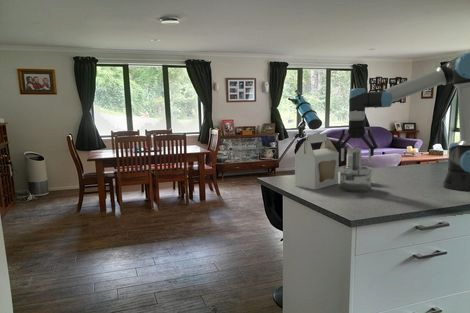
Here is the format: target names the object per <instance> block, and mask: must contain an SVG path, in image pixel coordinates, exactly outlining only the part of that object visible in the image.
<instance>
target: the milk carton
mask: <svg viewBox="0 0 470 313" xmlns="http://www.w3.org/2000/svg"><path fill="white" fill-rule="evenodd" d="M356 151H360V158H359V166H362V159H363V158H362V148H361V147H353V148H352V147H349V148H348V147H347V152H346V166H350V165H353V152H356Z"/></svg>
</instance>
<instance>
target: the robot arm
mask: <svg viewBox="0 0 470 313" xmlns="http://www.w3.org/2000/svg"><path fill="white" fill-rule="evenodd" d="M448 84H453V86H454V87H455V88H456V89H457V98H458V99H457V101H458V104H457V105H458V121H459V122H458V123H459V124H458V125H459V141H458V142H451V143H450V144H449V147H448V164H447V168H448V169H447V172H446V174H445V177H444V179H443V182H442V186H443V187H444V188H445V189H450V190H455V191H462V192H463V191H466V192H467V191H468V192H469V191H470V52H469V51H468V52H465V53H462V54H461V55H459V56H456V57H455V58H453V59H451V60H450V61H448V62H446V63H444V64H442V65H439V66H437V67H436V69H434V70H432V71H429V72H426V73H424V74H422V75H420V76H419V75H418V76H417V77H413V78H412V79H408V80H406V81H402V82H400V83H399V84H396V85H393V86H390V87H388V88H385V89H381V90H380V91H370V92H369V91H368V92H367V91H366V88H363V87H362V88H352V89H350V90H349V96H348V98H349V99H348V100H349V101H348V103H349V105H348V107H349V108H348V109H349V110H348V111H349V112H348V119H349V120H348V129H345V128H344V129H342V131H341V134H340V137H339V138H338V140H337V142H336V144H335V148H338V149H339V150H338V152H339V155H340V162H343V161H345V145H347V143H348V142H349V141H350V140H351V139H361V140H362V141H363V142H364V143H365V145H366V146H367V147H368V148H369V149H368V163H369V164H371V163H372V158H373V157H374V155H375V152H374V151H375V150H376V149H378V148H379V146H378V144H377V142H376V139H375V138H374V136H373V133H372V129H365V128H366V127H365V126H366V124H365V122H366V121H365V118H366V108H367V109H369V108H375V109H377V108H390V107H391V106H392V103H394V102H396V101H399V100H402V99H406V98H408V97H410V96H413V95H415V94H418V93H421V92H424V91H427V90H429V89H432V88H434V87H438V86H441V85H443V86H446V85H448ZM347 133H348V134H349V135H348V136H347V137H346V139H345V140H343V139H344V138H345V136H346V135H347ZM365 133H366V135H368V138H369V139H370V141H369V140H368V138H367V137H366V136H365Z"/></svg>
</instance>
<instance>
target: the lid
mask: <svg viewBox="0 0 470 313" xmlns="http://www.w3.org/2000/svg"><path fill="white" fill-rule="evenodd" d="M359 158H360V151H356V152H353V166H352V168H347V169H349V170H366V169H363V168H359Z"/></svg>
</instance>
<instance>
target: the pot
mask: <svg viewBox="0 0 470 313" xmlns="http://www.w3.org/2000/svg"><path fill="white" fill-rule="evenodd" d="M352 166H353V165H350V166H347V165H342V166H338V173H339V174H340V176H339V180H340V181H339V188H340V190H341V191H343V190H344V192H349V193H367V192H368V193H369V192H371V190H372V174H373V173H374V167H371V166H367V165H361V166H359V168H363V169H366V170H349V169H347V168H352Z"/></svg>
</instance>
